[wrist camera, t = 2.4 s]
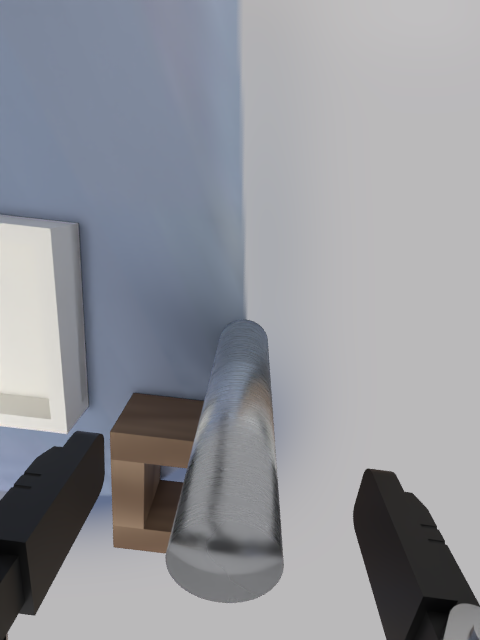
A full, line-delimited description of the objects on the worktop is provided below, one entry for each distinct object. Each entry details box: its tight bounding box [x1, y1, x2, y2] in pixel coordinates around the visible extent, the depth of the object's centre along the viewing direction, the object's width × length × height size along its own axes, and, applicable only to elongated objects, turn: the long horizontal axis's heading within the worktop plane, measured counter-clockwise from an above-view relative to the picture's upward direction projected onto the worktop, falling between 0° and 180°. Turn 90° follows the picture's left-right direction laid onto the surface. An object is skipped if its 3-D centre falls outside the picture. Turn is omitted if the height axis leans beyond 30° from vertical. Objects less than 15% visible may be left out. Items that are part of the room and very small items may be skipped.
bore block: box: [110, 393, 204, 553], centre depth 20 cm, size 8×8×4 cm
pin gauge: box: [166, 320, 284, 603], centre depth 13 cm, size 3×3×12 cm
